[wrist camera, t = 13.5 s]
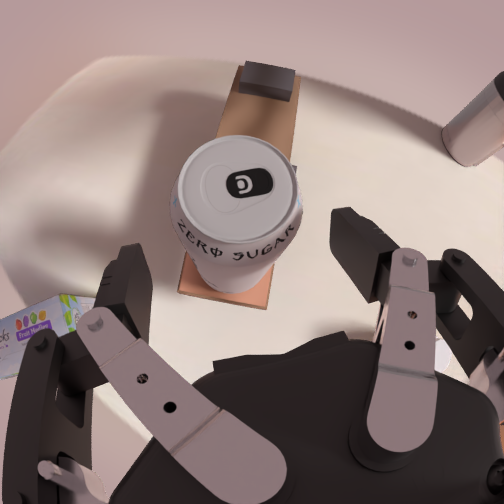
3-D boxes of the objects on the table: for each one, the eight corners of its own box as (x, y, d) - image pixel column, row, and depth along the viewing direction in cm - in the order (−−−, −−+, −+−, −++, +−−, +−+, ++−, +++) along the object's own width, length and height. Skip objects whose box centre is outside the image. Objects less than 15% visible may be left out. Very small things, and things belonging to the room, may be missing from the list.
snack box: (22, 376, 30) (-47, 391, 15) (11, 339, 31) (-60, 342, 16) (137, 340, 33) (80, 356, 18) (122, 297, 34) (59, 285, 19)
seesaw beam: (300, 89, 34) (308, 67, 30) (268, 311, 28) (275, 309, 24) (234, 77, 34) (235, 53, 30) (176, 293, 27) (167, 288, 23)
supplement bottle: (408, 369, 34) (451, 380, 25) (377, 368, 34) (418, 381, 25) (414, 332, 36) (458, 334, 26) (384, 329, 35) (426, 331, 26)
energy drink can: (191, 235, 26) (155, 138, 12) (256, 221, 27) (288, 116, 12) (205, 301, 25) (175, 275, 10) (273, 286, 26) (331, 240, 11)
